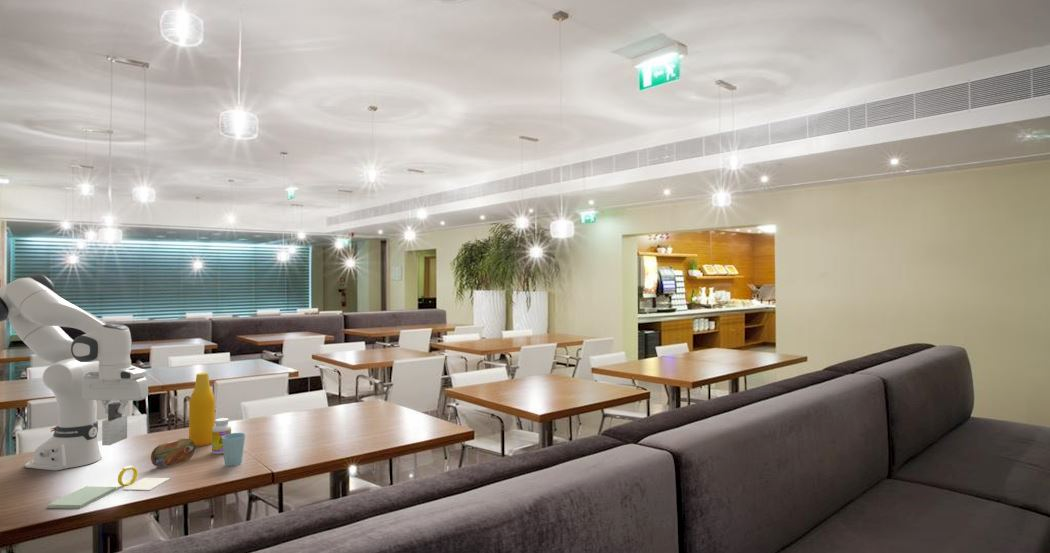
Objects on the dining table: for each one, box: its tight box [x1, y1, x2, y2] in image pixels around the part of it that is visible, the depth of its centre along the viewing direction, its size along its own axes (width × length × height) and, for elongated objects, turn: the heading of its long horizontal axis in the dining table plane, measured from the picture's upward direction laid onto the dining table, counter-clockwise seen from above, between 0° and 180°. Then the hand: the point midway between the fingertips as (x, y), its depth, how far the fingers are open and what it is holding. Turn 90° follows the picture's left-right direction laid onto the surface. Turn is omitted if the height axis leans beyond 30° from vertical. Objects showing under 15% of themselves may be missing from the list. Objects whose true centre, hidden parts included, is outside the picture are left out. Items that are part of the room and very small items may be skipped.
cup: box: [222, 432, 246, 467], centre depth 203 cm, size 8×8×10 cm
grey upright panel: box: [101, 401, 128, 446], centre depth 184 cm, size 2×8×13 cm, turn 0°
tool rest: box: [47, 485, 117, 509], centre depth 170 cm, size 10×14×1 cm
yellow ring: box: [117, 465, 139, 487], centre depth 182 cm, size 6×3×6 cm, turn 166°
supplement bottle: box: [211, 417, 232, 455], centre depth 216 cm, size 7×7×13 cm
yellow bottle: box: [188, 372, 216, 448], centre depth 226 cm, size 9×9×29 cm
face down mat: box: [121, 477, 171, 492], centre depth 182 cm, size 9×10×1 cm
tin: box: [150, 438, 196, 469], centre depth 202 cm, size 15×3×8 cm, turn 154°
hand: (114, 413), depth 184 cm, fingers closed on grey upright panel, 2 cm apart
